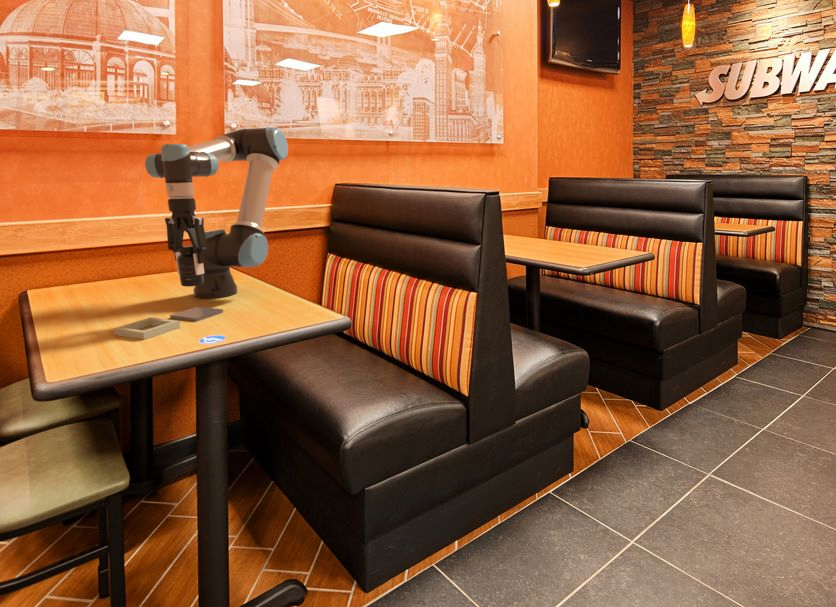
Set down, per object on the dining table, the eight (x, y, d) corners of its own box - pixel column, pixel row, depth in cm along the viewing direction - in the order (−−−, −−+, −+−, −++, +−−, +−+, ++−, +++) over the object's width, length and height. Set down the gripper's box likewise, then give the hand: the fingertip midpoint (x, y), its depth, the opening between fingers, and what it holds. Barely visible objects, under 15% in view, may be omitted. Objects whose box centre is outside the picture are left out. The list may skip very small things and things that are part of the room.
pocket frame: (114, 335, 153) (113, 328, 152) (151, 323, 163) (150, 317, 163) (144, 339, 148) (143, 332, 147) (180, 327, 158) (179, 320, 158)
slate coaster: (170, 318, 168) (169, 315, 168) (197, 309, 178) (197, 306, 178) (196, 321, 164) (195, 318, 164) (223, 312, 174) (222, 309, 173)
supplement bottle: (184, 282, 171) (179, 244, 169) (207, 281, 172) (202, 244, 169) (177, 287, 165) (172, 248, 162) (200, 286, 165) (195, 247, 162)
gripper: (147, 198, 163) (158, 273, 168) (195, 198, 155) (205, 277, 160) (168, 197, 169) (178, 269, 175) (215, 196, 161) (224, 272, 167)
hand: (191, 273), depth 168 cm, fingers closed on supplement bottle, 7 cm apart
